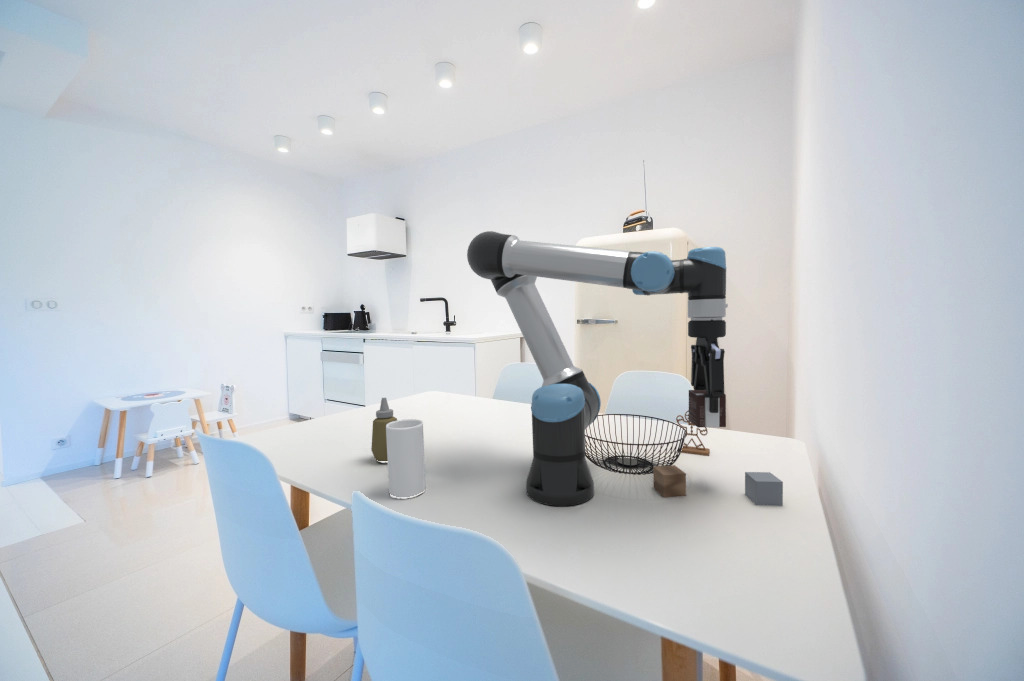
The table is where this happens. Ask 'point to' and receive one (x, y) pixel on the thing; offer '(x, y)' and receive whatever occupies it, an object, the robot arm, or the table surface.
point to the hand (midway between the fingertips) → (706, 422)
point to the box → (699, 408)
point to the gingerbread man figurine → (689, 449)
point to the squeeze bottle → (381, 431)
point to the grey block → (764, 488)
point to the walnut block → (669, 481)
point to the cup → (405, 457)
